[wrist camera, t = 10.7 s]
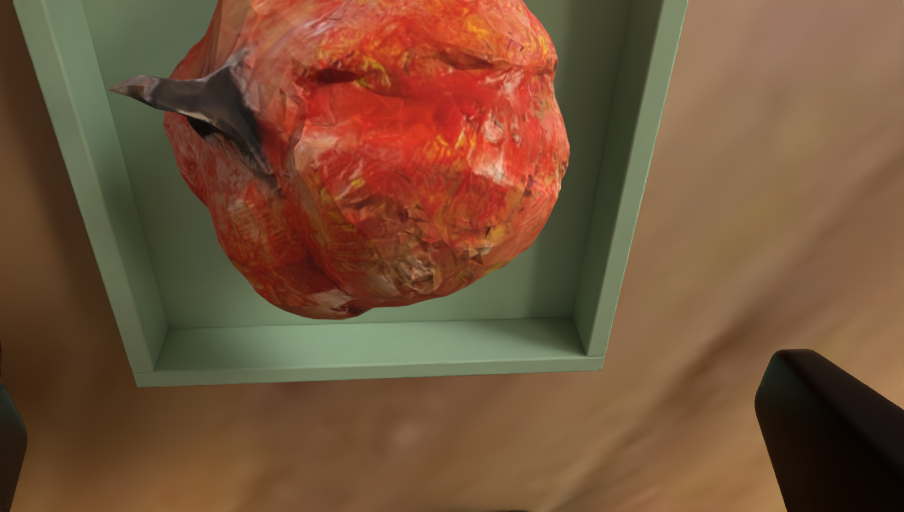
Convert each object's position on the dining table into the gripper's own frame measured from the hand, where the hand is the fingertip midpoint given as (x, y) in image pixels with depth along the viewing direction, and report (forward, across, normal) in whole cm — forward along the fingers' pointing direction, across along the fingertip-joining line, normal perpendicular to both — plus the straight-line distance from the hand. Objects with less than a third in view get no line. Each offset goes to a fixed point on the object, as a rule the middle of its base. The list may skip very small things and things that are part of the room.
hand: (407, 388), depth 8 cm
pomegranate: (+10, 0, 0) cm, 10 cm away
